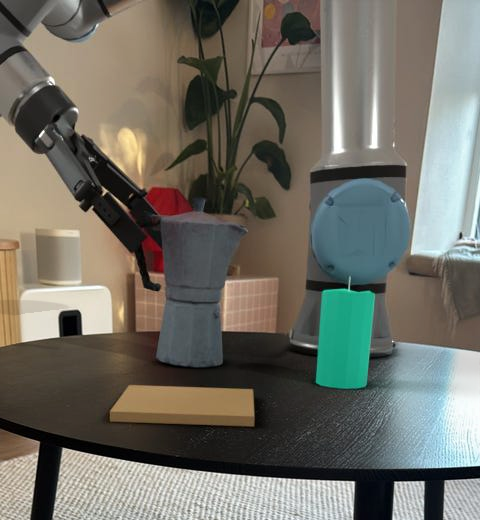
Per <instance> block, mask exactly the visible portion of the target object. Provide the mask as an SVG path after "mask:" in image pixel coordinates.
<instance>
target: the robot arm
mask: <svg viewBox="0 0 480 520" xmlns="http://www.w3.org/2000/svg"><path fill="white" fill-rule="evenodd" d="M145 1H146V0H0V118H3V119H4V120H5V122H7V124H8V125H9V126H10V127H14V131H15V133H16V134H17V136H18V137H19V138H20V139H21V140H22V141H23V142H24V143H25V144H26V145H27V147H28V148H29V149H30V150H31V151H32V152H33V153H34V154H37V155H45V156H46V158H47V159H48V161H49V162H50V163H51V165H52V167H53V168H54V170H55V172H57V174H58V175H59V177H60V179H61V181H63V183H64V185H65V186H66V188H67V189H68V191H69V192H70V194H71V196H73V198H74V200H75V201H77V202H79V205H78V207H79V209H80V210H82V211H83V212H84V213H87V212H89V210H90V209H91V210H92V211H93V212H94V214H95V215H96V216H97V217H98V218H99V219H100V221H101V222H102V223H103V224H104V225H105V226H106V227H107V229H109V231H110V232H111V233H112V234H113V235H114V237H115V238H116V239H117V240H118V242H120V243H121V244H122V246H124V247H125V249H126V250H127V251H128V252H129V253H130V254H133V253H135V252H134V251H135V250H136V249H137V248H138V247H139V245H140V244H141V243H143V242H144V241H145V240H146V239H147V238H148V237H150V238H151V239H152V240H153V242H154V243H155V244H156V245H157V246H158V247H159V249H160V250H162V251H163V248H162V236H161V232H160V231H157V230H152V229H150V228H148V227H143V228H142V229H141V228H140V227H139V225H138V224H137V223H136V222H135V221H136V220H138V219H139V216H140V215H141V214H142V213H143V211H146V212H149V213H152V214H154V215H160V213H159V212H158V211H157V210H156V208H154V206H153V205H152V204H151V203H150V202H149V201H148V200H147V196H148V195H149V191H148V190H147V189H146V188H145V187H143V188H141V187H139V185H137V184H136V183H135V182H134V181H133V180H132V179H131V178H130V176H128V175H127V174H126V172H124V171H123V169H121V168H120V167H119V166H118V165H117V164H116V163H115V162H114V161H112V159H111V158H109V156H108V155H106V154H105V152H103V150H101V148H100V147H99V146H98V145H97V144H96V143H95V141H94V140H93V139H92V138H90V137H89V136H86V135H85V134H83V133H82V134H81V135H80V133H78V131H77V132H76V130H75V128H76V123H77V122H78V120H79V108H78V106H77V105H76V104H75V103H74V101H72V100H71V98H70V97H69V96H68V95H67V94H66V93H65V91H64V90H63V89H62V87H60V85H56V84H55V83H56V82H55V79H54V78H53V77H52V75H51V74H50V73H49V72H48V71H47V69H45V68H44V67H43V65H42V64H41V63H40V62H39V61H38V60H37V59H36V57H34V55H33V54H32V53H31V52H30V51H29V50H28V49H27V48H26V47H25V46H24V42H25V41H26V39H27V38H29V37H30V35H31V34H32V33H33V32H34V31H35V29H36V28H38V26H39V25H40V23H41V24H42V25H43V26H44V28H45V29H46V30H47V31H48V32H49V34H52V35H53V36H54V37H56V38H58V39H61V40H63V41H66V42H69V43H72V44H73V43H75V44H77V43H82V42H85V41H87V40H89V39H90V38H91V37H92V36H94V34H95V33H96V31H97V29H98V28H99V25H100V23H102V22H105V21H106V20H108V19H110V18H112V17H114V16H116V15H118V14H121V13H122V12H124V11H127V10H128V9H131V8H133V7H134V6H136V5H139V4H141V3H143V2H145ZM397 3H398V0H319V5H320V6H319V8H320V10H319V12H320V13H319V17H320V20H319V21H320V81H321V82H320V85H321V86H320V88H321V89H320V90H321V91H320V92H321V93H320V95H321V101H320V103H321V155H320V157H319V158H318V159H317V161H316V162H315V163H314V164H313V165H312V166H311V168H310V169H309V199H310V200H309V202H308V203H309V205H308V206H309V226H308V227H309V228H308V242H307V243H308V244H307V256H306V257H307V260H306V274H305V290H304V297H303V300H302V303H301V306H300V308H299V311H298V314H297V317H296V319H295V321H294V324H293V327H292V328H290V330H289V335H288V337H289V348H290V349H291V350H292V351H295V352H298V353H301V354H302V353H303V354H306V355H307V354H308V355H313V356H318V344H319V330H320V316H321V301H322V292H323V291H324V290H332V289H348V287H349V277H351V279H350V290H352V291H356V292H364V291H370V292H372V293H374V294H375V301H374V312H373V322H372V333H371V343H370V354H369V358H380V357H386V356H390V355H391V354H392V353H393V351H394V350H393V348H395V347H396V343H395V342H394V337H393V336H394V335H393V331H392V327H391V326H392V325H391V322H390V317H389V312H388V308H387V307H388V306H387V302H386V293H387V282H388V275H389V274H390V273H391V272H392V271H393V270H394V269H395V268H396V267H397V266H398V265H399V264H400V263H401V261H402V259H403V257H404V255H405V254H406V251H407V249H408V247H409V244H410V240H411V235H412V234H411V233H412V222H411V218H410V212H409V210H408V205H407V171H408V169H407V167H408V166H407V162H406V161H405V160H404V159H403V158H402V157H401V156H400V154H398V153H397V151H396V149H395V121H396V120H395V118H396V69H397V68H396V65H397V64H396V63H397V62H396V61H397V16H398V15H397V13H398V10H397V8H398V4H397ZM105 190H106V192H105ZM119 202H120V203H121V204H122V205H124V206H125V207H126V208H127V209H128V210H129V211H128V212H127V211H126V209H125V208H124V207H123V206H122V205H121V204H120V203H119Z"/></svg>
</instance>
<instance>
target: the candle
mask: <svg viewBox="0 0 480 520" xmlns="http://www.w3.org/2000/svg"><path fill="white" fill-rule="evenodd" d="M350 279H351V277H349V287H348V289H332V290H324V291H323V292H322V301H321V316H320V330H319V344H318V355H317V359H316V373H315V383H316V384H318V385H319V386H322V387H327V388H332V389H333V388H334V389H344V390H345V389H346V390H347V389H348V390H349V389H361V388H362V389H363V388H366V386H367V384H368V374H369V364H370V357H369V354H370V343H371V333H372V322H373V312H374V301H375V294H374V293H372V292H370V291H364V292H356V291H352V290H350Z"/></svg>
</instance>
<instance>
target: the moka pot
mask: <svg viewBox="0 0 480 520" xmlns="http://www.w3.org/2000/svg"><path fill="white" fill-rule="evenodd" d="M205 203H206V198H203V197H201V196H196V197H193V198H192V206H193V210H192V211H188V212H183V213H179V214H175V215H165V214H164V215H162V214H159V215H154V214H152V213H149V212H146V211H143V213H142V214H141V215H140V216H139V219H138V220H134V221H135V222H136V223H137V224H138V225H139V227H140V228H141V229H142V230H143V227H148V228H150V229H152V230H157V231H160V232H161V236H162V248H163V250H162V259H163V260H162V261H163V276H164V283H165V286H164V293H165V294H164V297H165V302H164V307H163V312H162V316H161V317H162V319H161V325H160V331H159V336H158V337H159V338H158V343H157V350H156V355H155V359H156V360H157V361H159V362H161V363H165V364H168V365H171V366H181V367H188V368H212V367H217V366H221V365H222V364H223V361H224V360H223V358H224V357H223V337H222V335H223V334H222V312H221V305H220V302H221V301H222V297H223V288H225V286H226V280H227V274H228V270H229V266H230V263H231V261H232V260H233V258H234V256H235V253H236V251H237V249H238V248H239V246H240V243H241V241H242V239H243V238H244V236H245V235H246V234H249V230H248V228H246V227H244V225H243V224H240V223H237V222H234V221H229V220H226V219H222V218H219V217H217V216H214V215H211V214H209V213H206V212H205V211H204V207H205ZM142 243H143V242H142ZM142 243H141V244H140V245H139V247H138V248H137V249H136V250H135V251H134V252H133V253H134V255H135V260H136V263H137V267H138V269H139V275H140V277H141V278H140V279H141V282H142V286H143V289H145V290H149V291H152V292H158V293H159V292H160V291H161V290H162V285H161V283H155V282H153V281H151V276H150V274H149V271H148V269H147V268H148V267H147V261H146V257H145V252H144V249H143V244H142Z"/></svg>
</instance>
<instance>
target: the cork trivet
mask: <svg viewBox="0 0 480 520" xmlns="http://www.w3.org/2000/svg"><path fill="white" fill-rule="evenodd" d="M254 397H255V396H254V389H253V388H225V387H197V386H171V385H169V386H167V385H140V384H139V385H138V384H129V385H128V386H127V388H126V389H125V390H124V391H123V393H122V394H121V396H120V397H119V398H118V400H117V401H116V403H115V404H114V405H113V406H112V408H111V409H110V411H109V422H111V423H137V424H160V425H161V424H163V425H165V424H166V425H190V426H191V425H192V426H193V425H194V426H195V425H197V426H218V427H219V426H221V427H222V426H223V427H249V428H251V427H253V428H254V427H255V398H254Z"/></svg>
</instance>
